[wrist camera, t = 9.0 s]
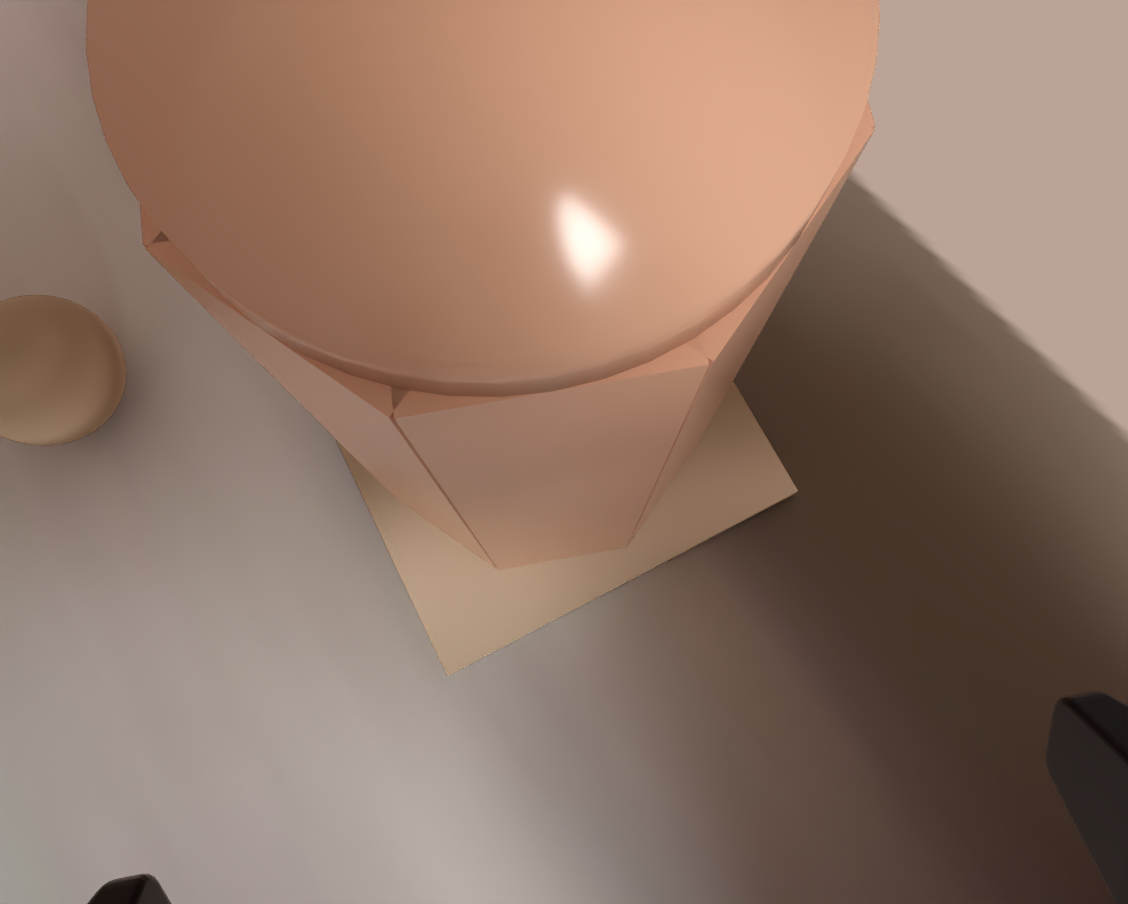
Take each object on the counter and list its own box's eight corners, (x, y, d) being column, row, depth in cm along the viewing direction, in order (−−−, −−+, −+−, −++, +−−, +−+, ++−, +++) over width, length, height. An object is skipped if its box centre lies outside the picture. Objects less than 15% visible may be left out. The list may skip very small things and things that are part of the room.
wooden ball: (172, 421, 19) (102, 377, 16) (40, 485, 19) (-56, 450, 16) (123, 305, 20) (46, 243, 17) (-7, 365, 20) (-106, 311, 17)
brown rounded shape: (717, 531, 18) (977, 285, 7) (405, 586, 18) (109, 433, 6) (654, 246, 20) (776, -360, 8) (365, 294, 20) (67, -259, 8)
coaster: (793, 494, 19) (798, 490, 19) (449, 674, 18) (446, 675, 18) (613, 189, 21) (614, 180, 20) (291, 341, 20) (285, 334, 19)
